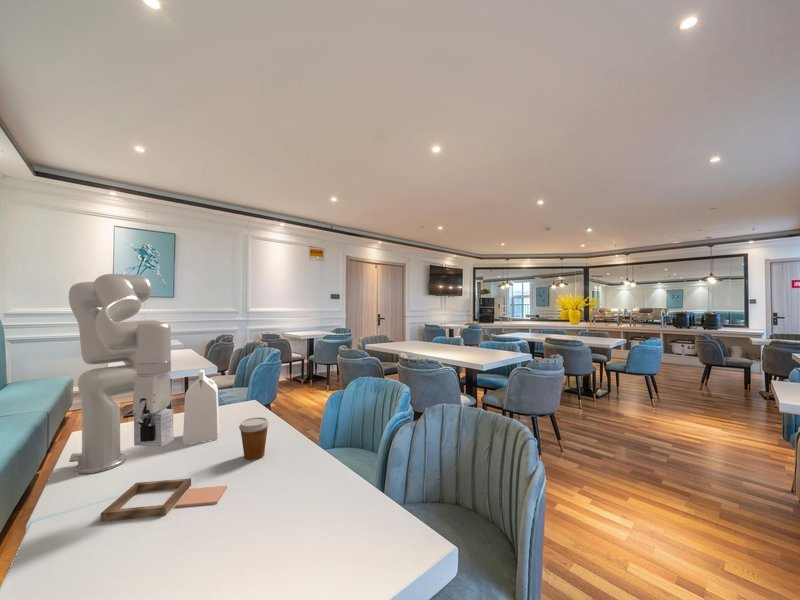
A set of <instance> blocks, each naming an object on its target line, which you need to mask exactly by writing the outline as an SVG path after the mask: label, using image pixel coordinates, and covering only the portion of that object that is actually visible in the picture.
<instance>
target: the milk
mask: <svg viewBox="0 0 800 600" xmlns="http://www.w3.org/2000/svg"><path fill="white" fill-rule="evenodd" d="M183 410H184V411H183V413H184V414H183V415H184V416H183V433H182V445H183V444H188V445H191V444H190V443H194V444H197V443H196V442H201V443H203V442H202V441H207V442H210V441H209V440H214V441H216V440H215V439H218V440H219V435H218V434H219V433H220V415H219V414H220V413H219V411H220V410H219V389H218V384H216V382H215V381H214V380H213V379H212V378H208V377H207V376H206V372H205V369H199V372H198V378H197V379H196V380H195V381H194V382H193V383H192V384H191V385H190V386H189V387H188V389H187V390H186V392H185V395H184V409H183Z"/></svg>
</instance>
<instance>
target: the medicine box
mask: <svg viewBox="0 0 800 600" xmlns="http://www.w3.org/2000/svg"><path fill="white" fill-rule="evenodd" d="M149 412H150V411H145V413H149ZM145 418H148V419H149V418H150V416H145ZM153 425H155V440H154V441H147V442H141V441H140V427H139V423H138V421H137V420H136V419H135V415H134V414H133V443H134V444H133V446H134V447H136V446H137V447H164V446H166V445H167V444H169V443H171V442H173V441H174V440H175V439H174V437H175V436H174V409H172V408H168V409H162V410H160V411H158V412H156V413H155V415H154V422H153Z"/></svg>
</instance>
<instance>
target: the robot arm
mask: <svg viewBox="0 0 800 600" xmlns="http://www.w3.org/2000/svg"><path fill="white" fill-rule="evenodd" d="M152 291H153V288H152V283H151V281H150V280H149V278H148V277H146V276H144V275H141V274H129V273H128V274H126V273H122V274H121V273H105V274H102V275H100V276H98V277H96V278H95V280H94V281H83V282H77V283H75V284H73V285H72V286H71V287H70V288H69V290H68V302H69V307H70V309H71V311H72V313H73V315H74V317H75V319H76V322H77V324H78V331H79V341H80V353H81V358H82V361H83V362H84V363H85V364H87V365H104V364H114V363H120V362H122V363H124V364H122V365H116V366H114V365H112V366H107V367H106V366H105V367H99V368H98V367H97V368H92V369H89V370H87V371H84V372H83V373H81V375H80V376H78V380H77V387H78V389H77V390H78V392H79V393H78V394H79V396H80V397H79V399H80V405H81V452H74V453H73V452H72V453H71V455H70V457H69V459H68V461H69V463H73V462H74V463H75V462H77V465H76V466H75V470H76V471H75V472H76V473H77V472H78V474H81V473H88V474H95V472H96V473H100V471H101V472H105V471H107V470H110V469H114V468H116V467H118V466H121V465H122V464H123V463H125V461H126V460H127V455H126V453H125V454H124V453H121V408H120V406H119V404H118V403H117V402H116V401H114V400H113V399H112V398H111V397H113V396H117V395H122V394H128V393H133V397H132V414H133V416H134V415H135V419H136V420H137V421H138V423H139V427H140V441H141V442H147V441H154V440H155V425H153V422H154V415H155V413H156V412H158V411H160V410H162V409H170V407H169V406H170V404H171V402H172V386H171V385H172V382H171V375H170V374H171V372H172V353H171V352H172V351H171V349H172V343H171V342H172V341H171V340H172V339H171V336H172V334H171V333H172V329H171V325H170V323H168V322H166V321H159V320H154V319H153V320H149V319H148V320H128V319H131V317H134V316H135V315H137V314H138V313H139V312H140V310H141V307H142V303H144V302H145V301H147V300H149V299H150V297H151V295H152V293H153V292H152ZM99 308H100V309H99ZM125 320H127V321H125ZM145 411H150V412H149V413H145ZM145 416H150V418H149V419H148V418H145Z"/></svg>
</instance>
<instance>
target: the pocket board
mask: <svg viewBox="0 0 800 600" xmlns="http://www.w3.org/2000/svg"><path fill="white" fill-rule="evenodd" d="M191 486H192V478H191V477H190V478H177V479H176V478H175V479H166V480H165V479H163V480H155V481H152V480H151V481H143V482H142V481H140V482H135V483H134V484H132V486H131V487H129V488H128V489H127V490H126V491H125V492H124V493H122V494H121V495H120V496H119V497H118V498H117V499H116V500H115V501H113V502H112V503H110V504H109V506H107V508H105V509H104V510H102V512H100V522H109V521H119V520H120V521H121V520H131V519H141V518H142V519H143V518H152V517H162V516H167V515H168V513H169V512H170V511H171V510H172V509H173V508H174V507H175V506H176V504H177V503H178V502H179V500H180V499H181V498H182V497H183V496H184V494H185V493H186V492H187V491H188V490H189V489H190V487H191ZM175 489H176V490H175ZM163 490H165V491H166V490H175V491H174V492H173V493H172V494H171V496H170V497H168V499H166V501H165V502H164V503H163V504H158V505H147V506H146V505H145V506H136V507H128V508H127V507H126V508H124V507H123V506H124V505H125V504H126V503H128V502H129V501H130V500H131V499H132V498H133V497H134V496H135V495H137V494H138V493H140V492H150V491H163Z"/></svg>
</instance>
